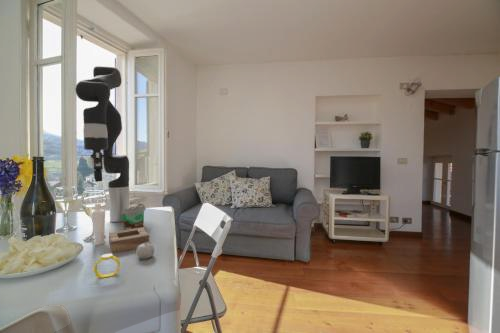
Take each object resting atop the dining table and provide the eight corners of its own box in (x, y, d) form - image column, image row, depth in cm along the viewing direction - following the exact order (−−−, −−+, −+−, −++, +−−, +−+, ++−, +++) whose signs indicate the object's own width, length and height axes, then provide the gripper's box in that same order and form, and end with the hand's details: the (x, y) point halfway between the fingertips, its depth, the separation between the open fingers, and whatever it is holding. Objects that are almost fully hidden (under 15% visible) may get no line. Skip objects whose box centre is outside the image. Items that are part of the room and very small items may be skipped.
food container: (134, 232, 103) (133, 209, 103) (122, 232, 105) (121, 209, 104) (151, 224, 115) (151, 203, 115) (140, 224, 117) (139, 203, 116)
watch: (120, 273, 69) (120, 252, 69) (118, 277, 66) (119, 256, 66) (95, 275, 67) (96, 254, 66) (93, 280, 64) (93, 258, 64)
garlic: (159, 255, 79) (158, 240, 79) (145, 262, 75) (144, 246, 74) (146, 252, 82) (145, 237, 82) (132, 259, 77) (131, 243, 77)
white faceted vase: (96, 246, 89) (94, 205, 88) (90, 244, 91) (88, 204, 90) (109, 242, 93) (107, 203, 92) (103, 240, 95) (101, 202, 94)
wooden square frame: (109, 243, 92) (108, 232, 92) (143, 236, 98) (142, 226, 98) (111, 253, 82) (111, 242, 82) (149, 245, 88) (148, 234, 88)
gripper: (83, 137, 94) (86, 179, 95) (83, 135, 82) (86, 183, 83) (106, 138, 98) (108, 178, 99) (109, 135, 86) (111, 181, 87)
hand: (98, 180), depth 91 cm, fingers open, 8 cm apart
